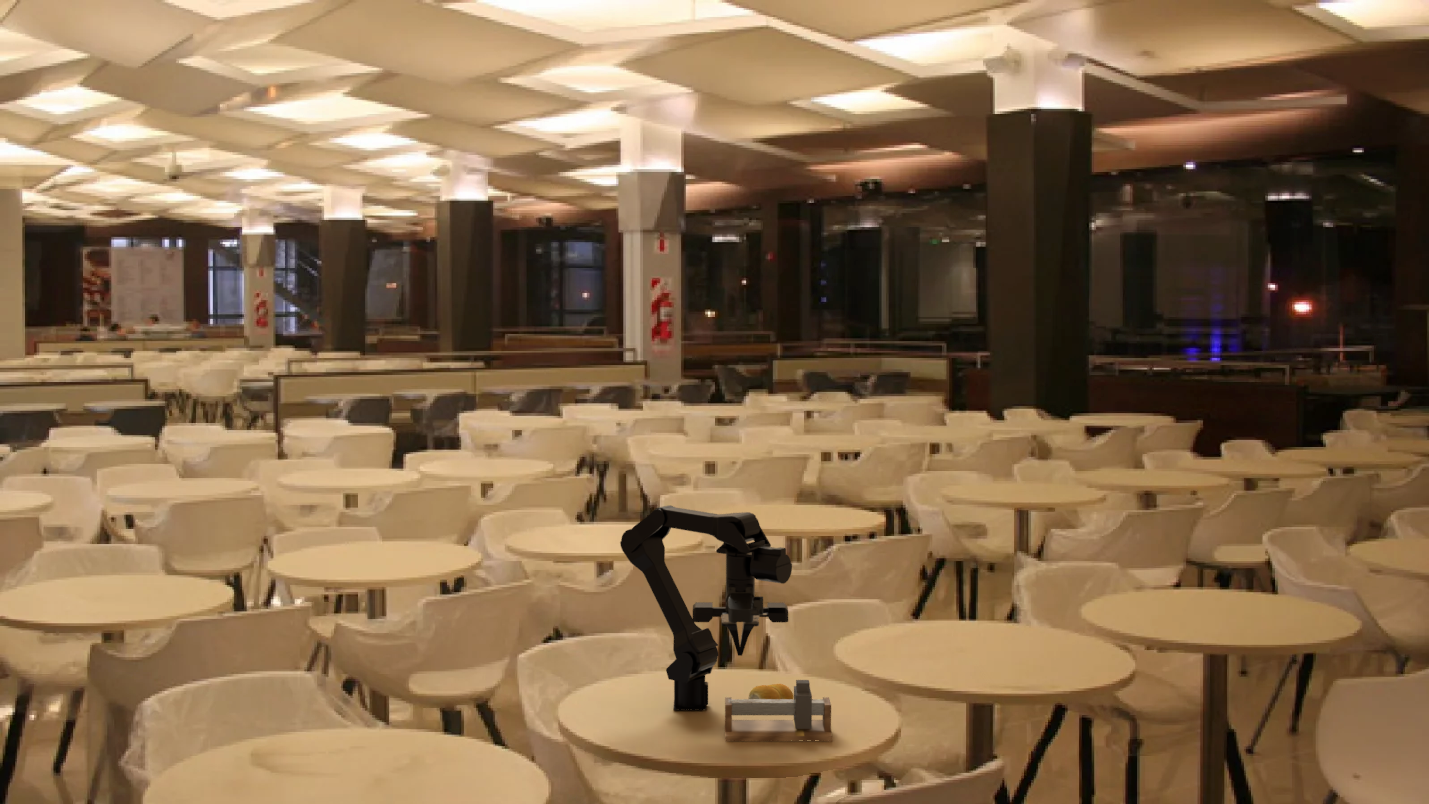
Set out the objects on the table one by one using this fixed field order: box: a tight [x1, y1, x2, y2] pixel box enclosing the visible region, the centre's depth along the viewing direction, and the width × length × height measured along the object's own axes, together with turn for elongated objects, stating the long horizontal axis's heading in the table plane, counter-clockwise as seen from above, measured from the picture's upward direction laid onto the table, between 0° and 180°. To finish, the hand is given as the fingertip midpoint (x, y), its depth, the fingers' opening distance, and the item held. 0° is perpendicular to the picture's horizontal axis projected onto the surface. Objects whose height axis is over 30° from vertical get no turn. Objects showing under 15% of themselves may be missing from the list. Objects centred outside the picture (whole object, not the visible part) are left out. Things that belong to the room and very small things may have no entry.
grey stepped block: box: [793, 679, 813, 729], centre depth 277 cm, size 3×6×8 cm, turn 0°
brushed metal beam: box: [728, 698, 827, 716], centre depth 277 cm, size 19×3×3 cm, turn 90°
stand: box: [724, 696, 833, 742], centre depth 277 cm, size 20×10×6 cm, turn 90°
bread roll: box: [748, 683, 794, 699], centre depth 297 cm, size 8×9×4 cm
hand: (740, 655), depth 286 cm, fingers closed
